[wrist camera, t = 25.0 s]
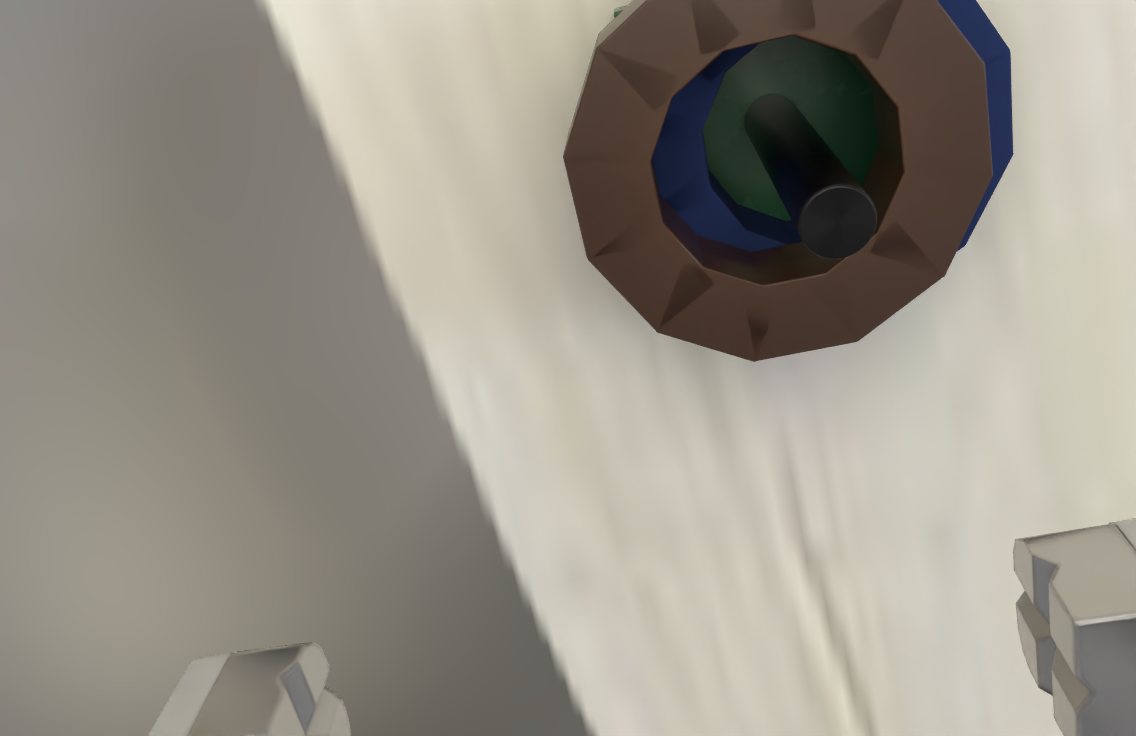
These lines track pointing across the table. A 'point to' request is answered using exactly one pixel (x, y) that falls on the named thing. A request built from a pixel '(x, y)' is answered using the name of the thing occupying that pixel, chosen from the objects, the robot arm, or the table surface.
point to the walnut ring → (792, 272)
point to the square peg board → (797, 141)
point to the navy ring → (752, 230)
